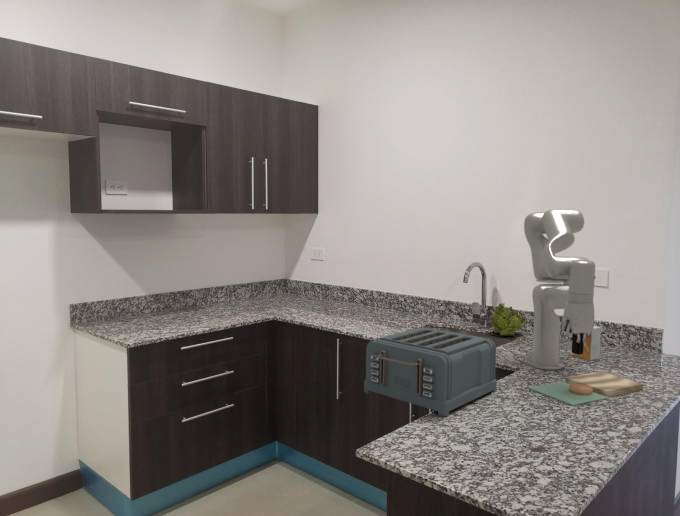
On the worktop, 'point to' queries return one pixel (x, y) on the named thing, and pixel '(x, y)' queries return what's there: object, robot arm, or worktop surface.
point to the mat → (566, 393)
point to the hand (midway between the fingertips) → (577, 353)
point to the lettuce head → (506, 321)
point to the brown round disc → (580, 389)
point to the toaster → (431, 368)
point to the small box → (591, 345)
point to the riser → (606, 383)
